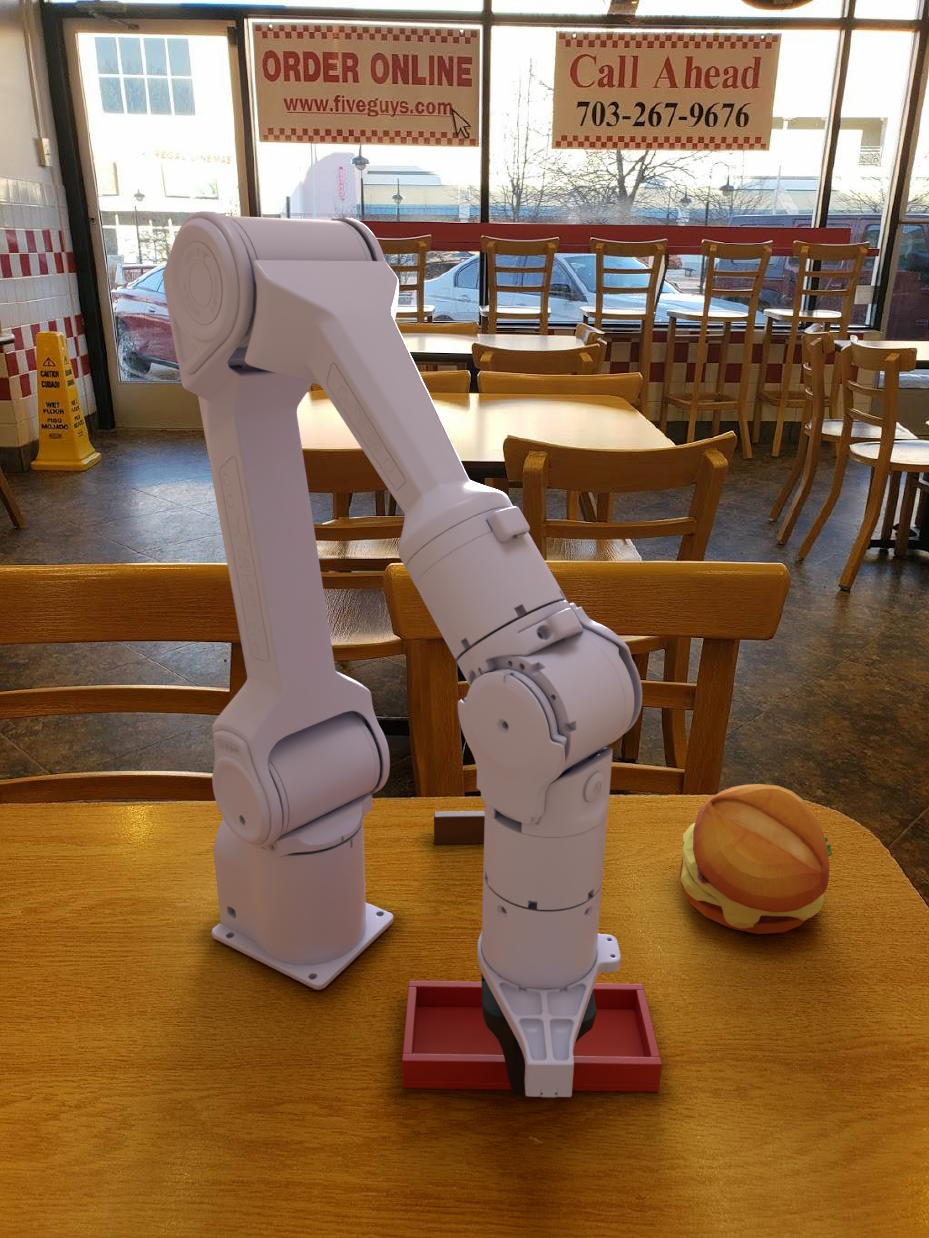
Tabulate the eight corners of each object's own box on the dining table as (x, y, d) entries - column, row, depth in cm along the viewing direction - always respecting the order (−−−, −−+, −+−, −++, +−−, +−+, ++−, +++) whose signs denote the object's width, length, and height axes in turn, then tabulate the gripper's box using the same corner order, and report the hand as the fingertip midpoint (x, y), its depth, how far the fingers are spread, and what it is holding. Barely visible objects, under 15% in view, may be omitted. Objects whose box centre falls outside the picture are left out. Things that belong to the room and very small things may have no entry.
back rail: (588, 841, 73) (590, 814, 72) (434, 844, 72) (434, 816, 71) (586, 835, 74) (588, 808, 73) (433, 838, 73) (433, 811, 72)
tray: (659, 1092, 51) (662, 1064, 50) (402, 1088, 51) (402, 1060, 50) (640, 1009, 57) (643, 983, 56) (409, 1006, 57) (408, 980, 56)
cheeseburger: (801, 853, 72) (832, 758, 66) (832, 977, 63) (870, 880, 57) (667, 843, 72) (685, 747, 67) (679, 964, 64) (701, 866, 58)
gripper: (653, 983, 38) (628, 1216, 43) (605, 793, 52) (590, 987, 57) (480, 981, 38) (475, 1214, 43) (477, 791, 52) (473, 986, 57)
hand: (531, 1085), depth 50 cm, fingers closed
